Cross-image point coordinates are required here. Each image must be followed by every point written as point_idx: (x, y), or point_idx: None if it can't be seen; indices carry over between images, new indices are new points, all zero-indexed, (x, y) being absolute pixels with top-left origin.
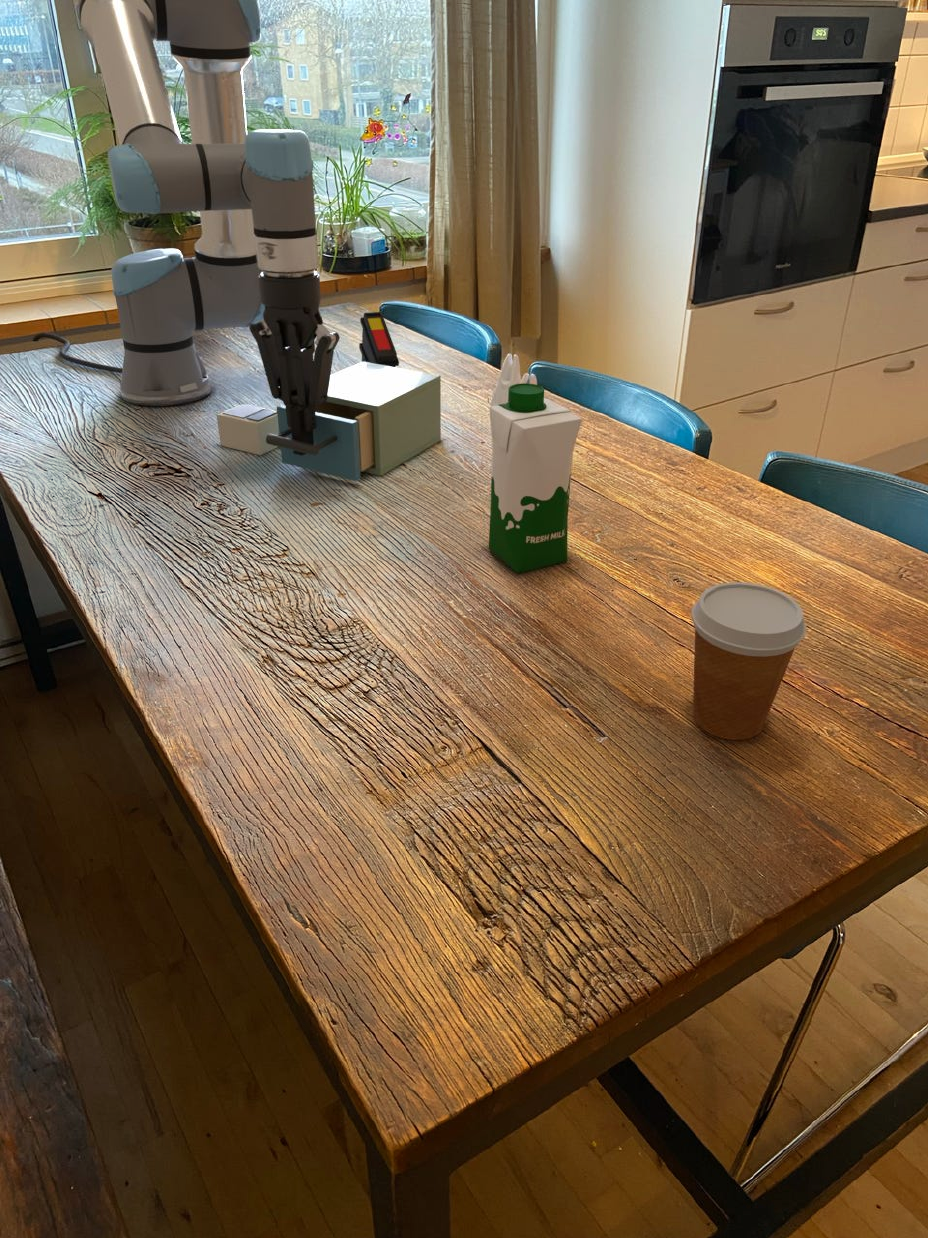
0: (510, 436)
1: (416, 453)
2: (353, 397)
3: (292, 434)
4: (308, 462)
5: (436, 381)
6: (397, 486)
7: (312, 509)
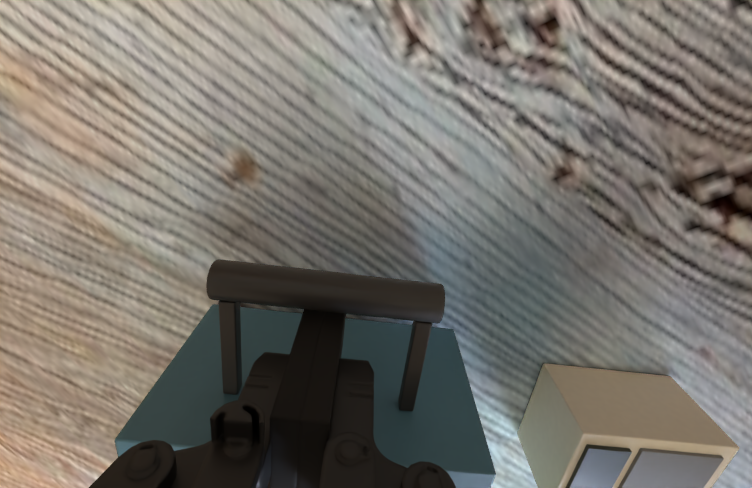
0: None
1: None
2: None
3: (338, 329)
4: (363, 331)
5: None
6: (143, 335)
7: (230, 135)
